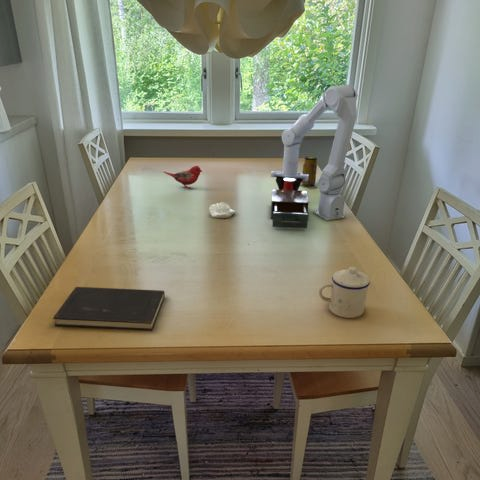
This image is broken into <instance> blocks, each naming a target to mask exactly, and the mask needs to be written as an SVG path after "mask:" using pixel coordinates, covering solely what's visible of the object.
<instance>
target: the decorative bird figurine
mask: <svg viewBox="0 0 480 480" xmlns="http://www.w3.org/2000/svg"><path fill="white" fill-rule="evenodd" d="M163 173H164V174H165V175H168V176H170V177H172V178H173V179H174V180H175V181H176V182H178V183H180V184H182V185H183V189H187V190H188V189H189V190H191V189H192V185H193V184H195V183H196V182H197V181H198V179H199V176H200V175H201V173H203V170H202V169H201V167H200V166H199V165H194V166H192V167H190V169H187V170H183V171H178V172H175V173H172V172H167V171H163ZM190 185H191V186H190Z"/></svg>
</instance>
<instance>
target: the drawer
mask: <svg viewBox="0 0 480 480" xmlns="http://www.w3.org/2000/svg"><path fill="white" fill-rule="evenodd" d="M308 222H309V213H306V207H305V204H292V203H275V205H274V212H273V219H272V228H287V229H308Z"/></svg>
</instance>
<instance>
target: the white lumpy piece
mask: <svg viewBox="0 0 480 480" xmlns="http://www.w3.org/2000/svg"><path fill="white" fill-rule="evenodd" d="M208 212H209V214H210V215H211V217H212V218H214V219H215V218H217V219H225V218H230V217H232V216H233V215H234V214H235V212H236V211H235V210H234V209H232V208H231V206H230V205H229V204H228V203H226V202H224V201H221V202H219V203H218V202H216V203H212V204H211V205H209V208H208Z"/></svg>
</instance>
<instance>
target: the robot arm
mask: <svg viewBox="0 0 480 480" xmlns="http://www.w3.org/2000/svg"><path fill="white" fill-rule="evenodd" d="M358 96H359V95H358V93H357V91H356V89H355V87H354V86H353V85H351V84H345V85H337V86H335V85H332V86H329V87H328V88H327V89H326V91H324V92H323V93H321V97H320V98H319V99H318V101H317V102H316V103H315V105H314V106H313V107H312V108H311V110H310V111H309V112H308V113H307V114H306V113H305V114H301V115H299V116H298V117H297V118H298V119H297V120H296V121H295V122H294V123H293V124H291V126H290V128H287V129H284V130H283V132H282V133H281V141H282V144H283V161H282V170H272V171H271V172H270V178H275V183H276V185H277V188H278V190H282V187H283V180H284V179H285V178H290V179H295V190H297V191H299V190H300V187H301V185H300V184H301V183H302V181H303V180H305V181H307V180H308V174H302V173H303V172H298V167H299V158H300V157H299V156H300V149H301V145H302V143H303V141H304V138H305V136H306V135H307V134H308V133H309V132H311V130H312V129H313V128H314V126H315V121H316V120H317V119H318V118H320V117H321V116H322V115H323V114H324V113H325V112H326V111H327V110H328V109H330V110H331V111H332V112H333V113H334V114H335V115H336V116H337V118H338V122H337V127H336V131H335V134H334V137H333V138H334V139H333V142H332V146H331V150H330V154H329V158H328V161H327V164H326V166H324V168H323V169H322V170H321V174H320V176H319V177H318V178H317V182H316V184H317V186H318V187H317V188H318V190H319V201H318V209H317V210H313V214H315V215H317V216H318V217H320V218H322V219H323V220H324V221H332V220H339V219H344V218H345V216H344V208H345V199H344V197H343V196H342V195H341V192H342V188H344V186H346V185H345V184H346V182H347V181H346V180H347V179H346V174H347V170H346V169H345V167H344V165H345V162H346V157H347V154H348V150H349V147H350V143H351V139H352V135H353V132H354V129H355V125H356V121H357V117H358V110H357V108H358V107H357V100H358Z"/></svg>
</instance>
